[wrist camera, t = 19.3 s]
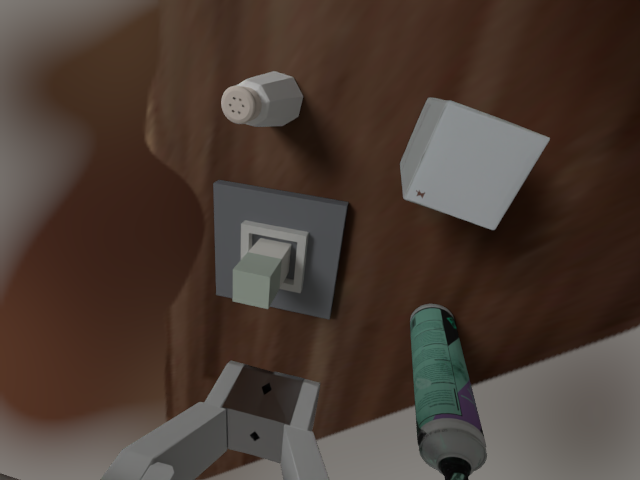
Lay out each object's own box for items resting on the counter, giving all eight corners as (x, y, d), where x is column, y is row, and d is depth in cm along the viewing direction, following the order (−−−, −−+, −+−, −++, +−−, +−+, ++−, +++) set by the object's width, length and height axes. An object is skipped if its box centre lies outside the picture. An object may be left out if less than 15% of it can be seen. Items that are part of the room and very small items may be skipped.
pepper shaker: (284, 136, 38) (246, 155, 28) (245, 103, 37) (192, 110, 27) (314, 95, 35) (283, 99, 26) (273, 59, 35) (225, 49, 25)
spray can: (415, 341, 46) (429, 506, 28) (405, 308, 44) (412, 462, 26) (458, 334, 44) (502, 506, 26) (449, 300, 42) (488, 458, 24)
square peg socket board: (219, 179, 42) (208, 185, 39) (348, 202, 39) (345, 209, 37) (221, 288, 48) (212, 299, 46) (331, 312, 46) (327, 325, 44)
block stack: (260, 237, 42) (232, 269, 35) (291, 244, 42) (270, 277, 34) (259, 265, 44) (232, 301, 37) (288, 271, 43) (268, 309, 36)
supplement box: (463, 188, 36) (494, 235, 25) (397, 164, 37) (399, 200, 25) (500, 119, 33) (555, 138, 22) (428, 93, 33) (445, 98, 22)
